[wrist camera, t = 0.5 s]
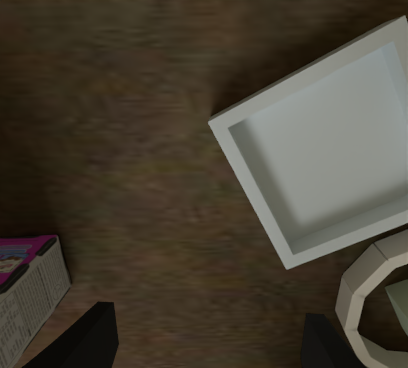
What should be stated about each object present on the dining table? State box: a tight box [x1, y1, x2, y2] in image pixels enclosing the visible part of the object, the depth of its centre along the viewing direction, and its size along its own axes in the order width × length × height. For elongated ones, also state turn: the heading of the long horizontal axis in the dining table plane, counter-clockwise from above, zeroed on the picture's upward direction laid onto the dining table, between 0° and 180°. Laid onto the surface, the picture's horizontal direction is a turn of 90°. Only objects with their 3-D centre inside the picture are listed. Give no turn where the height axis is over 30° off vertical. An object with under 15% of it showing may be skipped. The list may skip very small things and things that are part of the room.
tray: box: [208, 16, 408, 270], centre depth 18 cm, size 11×11×2 cm
